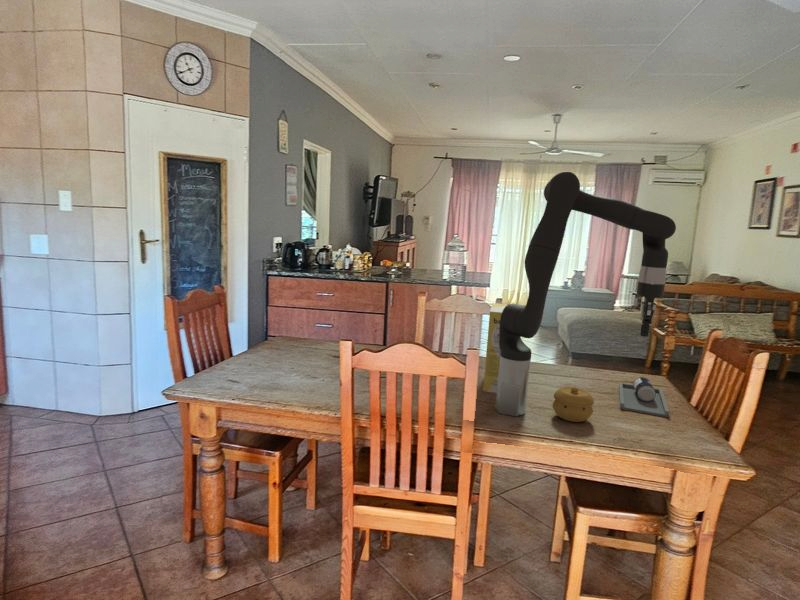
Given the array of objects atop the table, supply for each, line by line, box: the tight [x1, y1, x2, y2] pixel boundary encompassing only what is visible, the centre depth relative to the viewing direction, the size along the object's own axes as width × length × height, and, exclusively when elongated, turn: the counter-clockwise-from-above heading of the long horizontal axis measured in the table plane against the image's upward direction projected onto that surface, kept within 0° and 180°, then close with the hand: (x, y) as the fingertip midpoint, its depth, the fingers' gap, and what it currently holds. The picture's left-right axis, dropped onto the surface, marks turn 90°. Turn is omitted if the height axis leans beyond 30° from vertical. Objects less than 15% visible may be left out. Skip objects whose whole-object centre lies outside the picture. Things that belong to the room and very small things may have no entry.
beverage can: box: [632, 376, 656, 402], centre depth 175 cm, size 6×6×12 cm
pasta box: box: [482, 302, 509, 394], centre depth 179 cm, size 18×10×28 cm, turn 167°
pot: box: [552, 386, 595, 423], centre depth 153 cm, size 12×12×10 cm
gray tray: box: [618, 382, 670, 418], centre depth 173 cm, size 24×14×2 cm, turn 158°
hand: (643, 336), depth 159 cm, fingers closed
